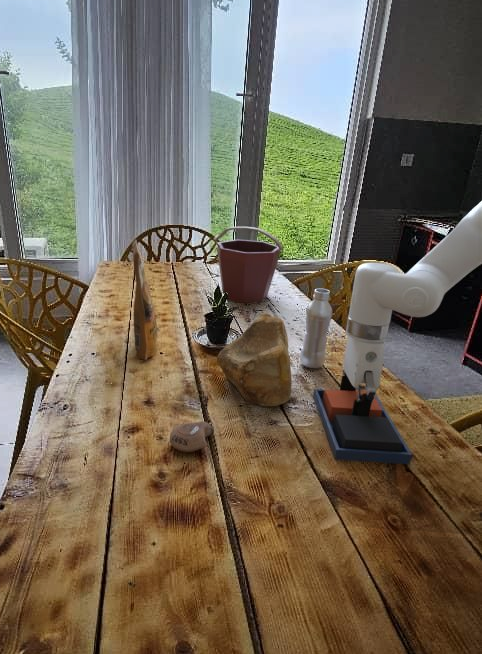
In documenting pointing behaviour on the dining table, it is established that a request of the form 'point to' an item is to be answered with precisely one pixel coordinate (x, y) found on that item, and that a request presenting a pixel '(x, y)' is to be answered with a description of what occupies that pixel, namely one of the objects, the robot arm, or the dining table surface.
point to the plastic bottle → (316, 330)
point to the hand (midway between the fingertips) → (353, 404)
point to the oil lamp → (190, 436)
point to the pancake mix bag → (143, 311)
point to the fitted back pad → (366, 433)
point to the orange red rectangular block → (345, 404)
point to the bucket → (247, 266)
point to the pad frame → (358, 454)
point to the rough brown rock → (260, 362)
